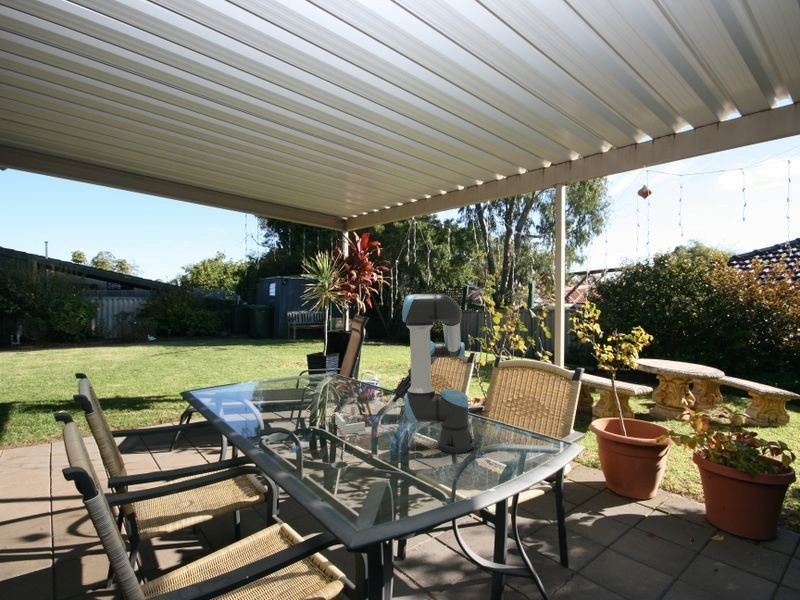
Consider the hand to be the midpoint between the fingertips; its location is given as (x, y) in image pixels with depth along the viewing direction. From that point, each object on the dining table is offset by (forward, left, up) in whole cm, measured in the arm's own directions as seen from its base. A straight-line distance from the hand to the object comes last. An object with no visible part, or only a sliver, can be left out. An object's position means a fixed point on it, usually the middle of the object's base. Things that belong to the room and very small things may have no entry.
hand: (388, 406), depth 215 cm
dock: (0, +20, -8) cm, 22 cm away
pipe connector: (0, +18, -8) cm, 20 cm away
